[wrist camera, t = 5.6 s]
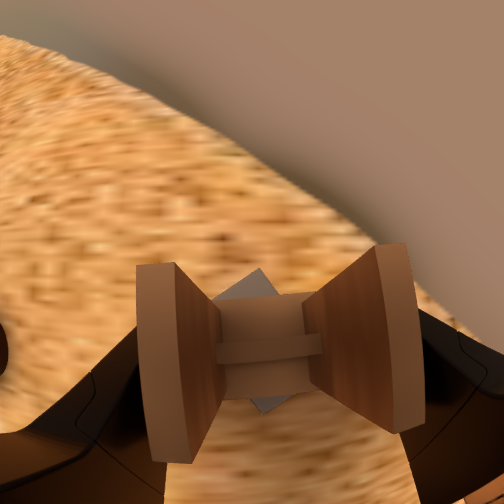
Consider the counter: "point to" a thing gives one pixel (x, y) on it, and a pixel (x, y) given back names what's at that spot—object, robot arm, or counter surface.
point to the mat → (251, 288)
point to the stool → (278, 348)
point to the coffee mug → (3, 350)
